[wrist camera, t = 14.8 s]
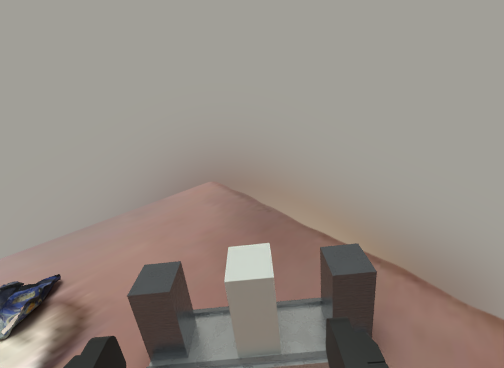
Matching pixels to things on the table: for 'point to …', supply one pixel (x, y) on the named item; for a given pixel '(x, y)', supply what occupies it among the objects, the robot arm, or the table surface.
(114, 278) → the table surface
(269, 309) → the block
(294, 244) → the table surface
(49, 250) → the table surface
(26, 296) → the snack package
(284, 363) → the rail
